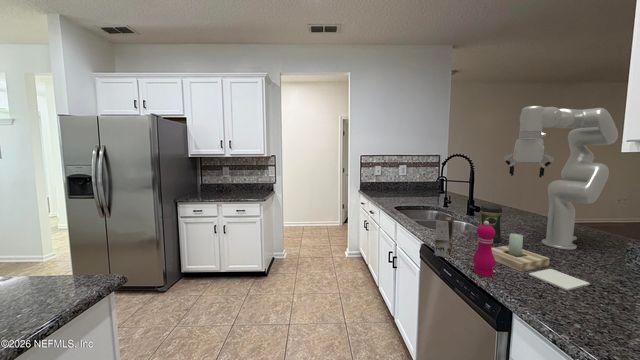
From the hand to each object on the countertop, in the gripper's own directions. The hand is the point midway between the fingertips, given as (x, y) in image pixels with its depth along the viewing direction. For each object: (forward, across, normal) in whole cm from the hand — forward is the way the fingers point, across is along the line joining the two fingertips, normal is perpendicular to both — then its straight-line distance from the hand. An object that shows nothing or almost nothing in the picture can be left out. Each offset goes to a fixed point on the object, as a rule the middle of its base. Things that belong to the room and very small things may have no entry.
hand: (525, 176), depth 115 cm
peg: (+35, 0, +9) cm, 36 cm away
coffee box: (+36, +26, +19) cm, 48 cm away
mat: (+35, -13, +19) cm, 42 cm away
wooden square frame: (+35, 0, +9) cm, 36 cm away
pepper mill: (+36, +9, +30) cm, 47 cm away
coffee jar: (+35, +13, -15) cm, 40 cm away
